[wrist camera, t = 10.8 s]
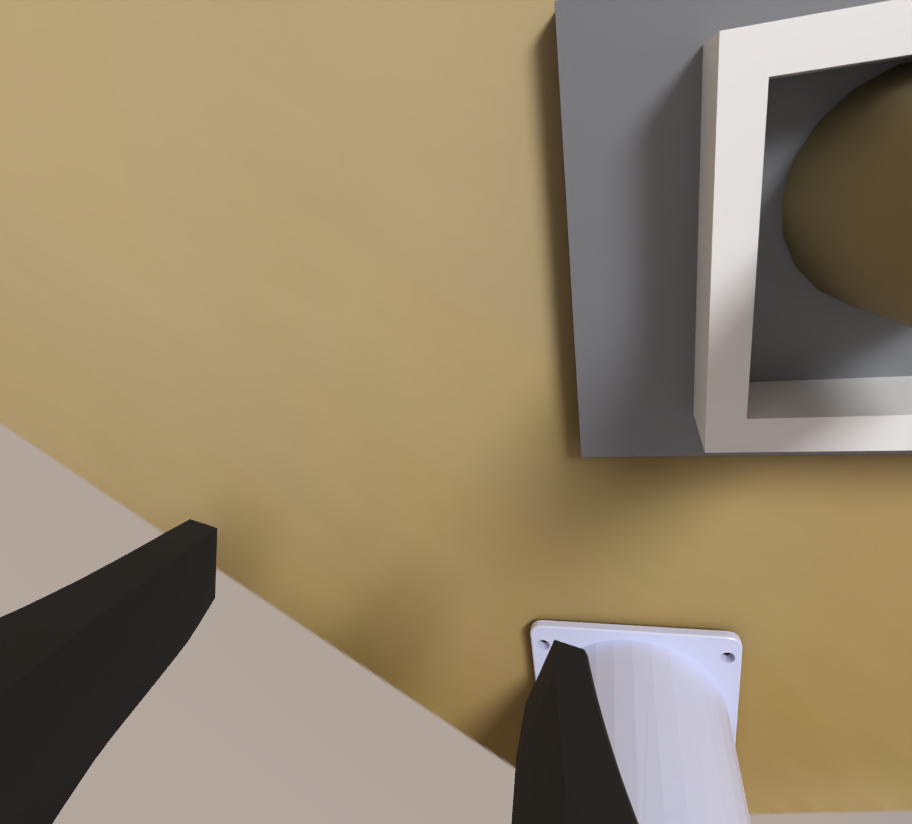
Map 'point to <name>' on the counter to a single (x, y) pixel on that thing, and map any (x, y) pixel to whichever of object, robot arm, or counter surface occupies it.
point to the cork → (857, 199)
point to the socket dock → (717, 229)
